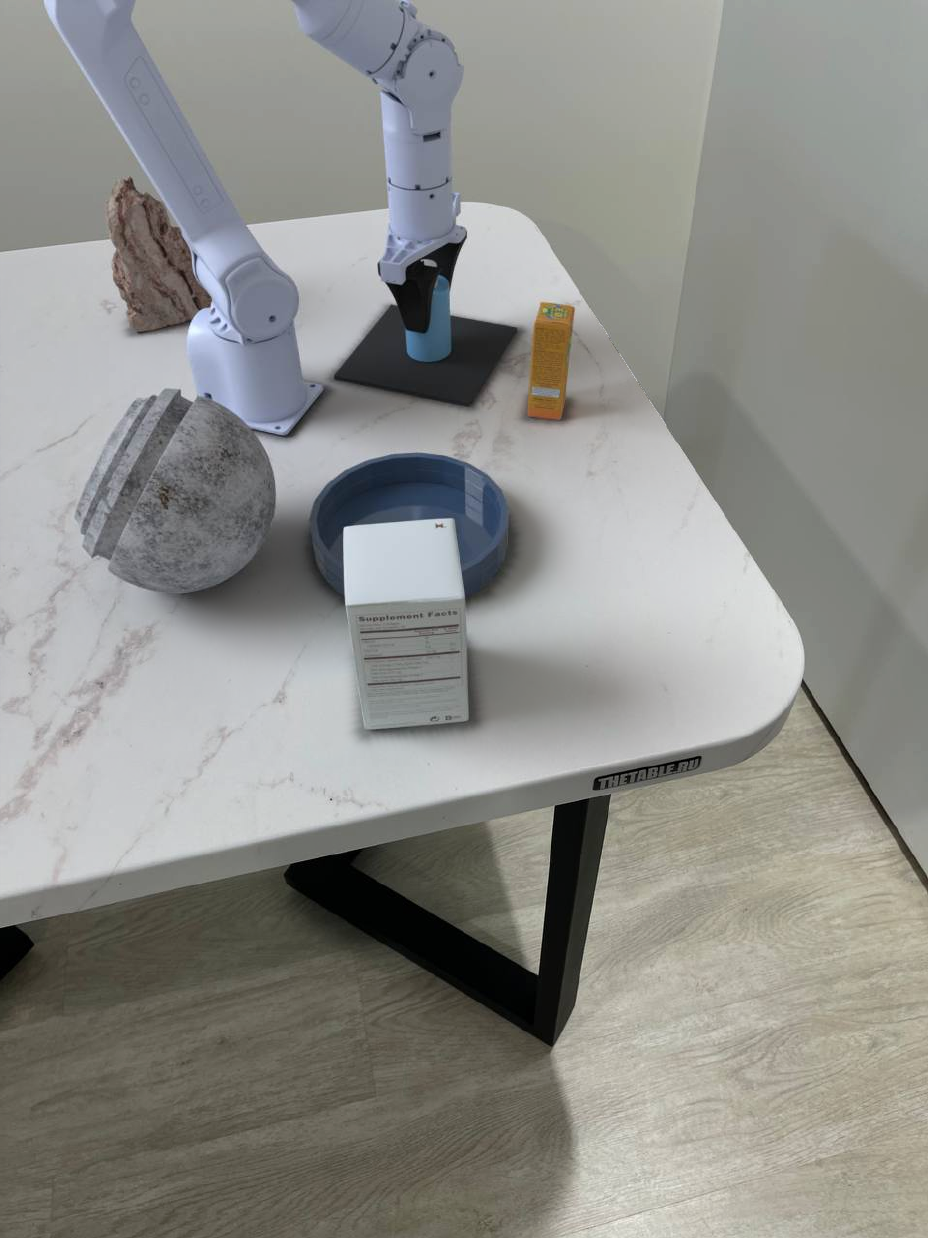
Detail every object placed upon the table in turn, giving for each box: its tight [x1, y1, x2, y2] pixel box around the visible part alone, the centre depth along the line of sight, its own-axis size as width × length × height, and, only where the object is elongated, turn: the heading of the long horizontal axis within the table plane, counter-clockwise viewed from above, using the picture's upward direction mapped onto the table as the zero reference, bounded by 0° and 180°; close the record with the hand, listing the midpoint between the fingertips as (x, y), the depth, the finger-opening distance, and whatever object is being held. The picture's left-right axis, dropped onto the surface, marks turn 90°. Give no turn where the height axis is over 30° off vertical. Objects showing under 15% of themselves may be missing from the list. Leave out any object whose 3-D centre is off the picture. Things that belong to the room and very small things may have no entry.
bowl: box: [308, 451, 510, 599], centre depth 81 cm, size 16×16×3 cm
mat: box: [333, 304, 518, 407], centre depth 101 cm, size 14×14×1 cm
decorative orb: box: [73, 387, 277, 594], centre depth 75 cm, size 15×14×15 cm
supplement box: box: [526, 301, 576, 421], centre depth 90 cm, size 3×3×10 cm
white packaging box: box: [343, 518, 470, 730], centre depth 67 cm, size 7×7×13 cm
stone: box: [104, 176, 212, 333], centre depth 102 cm, size 15×8×10 cm
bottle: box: [405, 259, 451, 362], centre depth 97 cm, size 4×4×9 cm
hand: (426, 317), depth 98 cm, fingers closed on bottle, 4 cm apart
